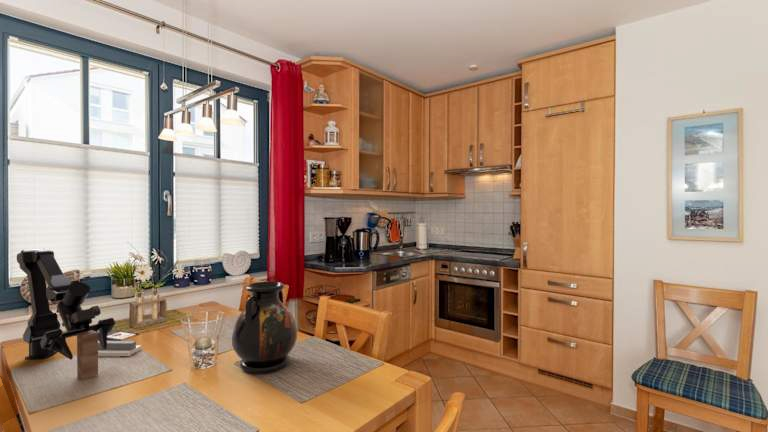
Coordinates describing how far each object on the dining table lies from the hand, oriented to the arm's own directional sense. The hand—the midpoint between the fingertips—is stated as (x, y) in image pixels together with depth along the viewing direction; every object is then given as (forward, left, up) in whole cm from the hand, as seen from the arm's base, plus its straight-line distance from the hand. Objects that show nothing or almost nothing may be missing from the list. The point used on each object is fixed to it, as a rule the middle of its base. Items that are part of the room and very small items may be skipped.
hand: (89, 353), depth 119 cm
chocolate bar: (-21, +39, -8) cm, 45 cm away
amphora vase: (+53, +10, -8) cm, 55 cm away
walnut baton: (-1, 0, -7) cm, 8 cm away
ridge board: (-8, +20, -7) cm, 23 cm away
